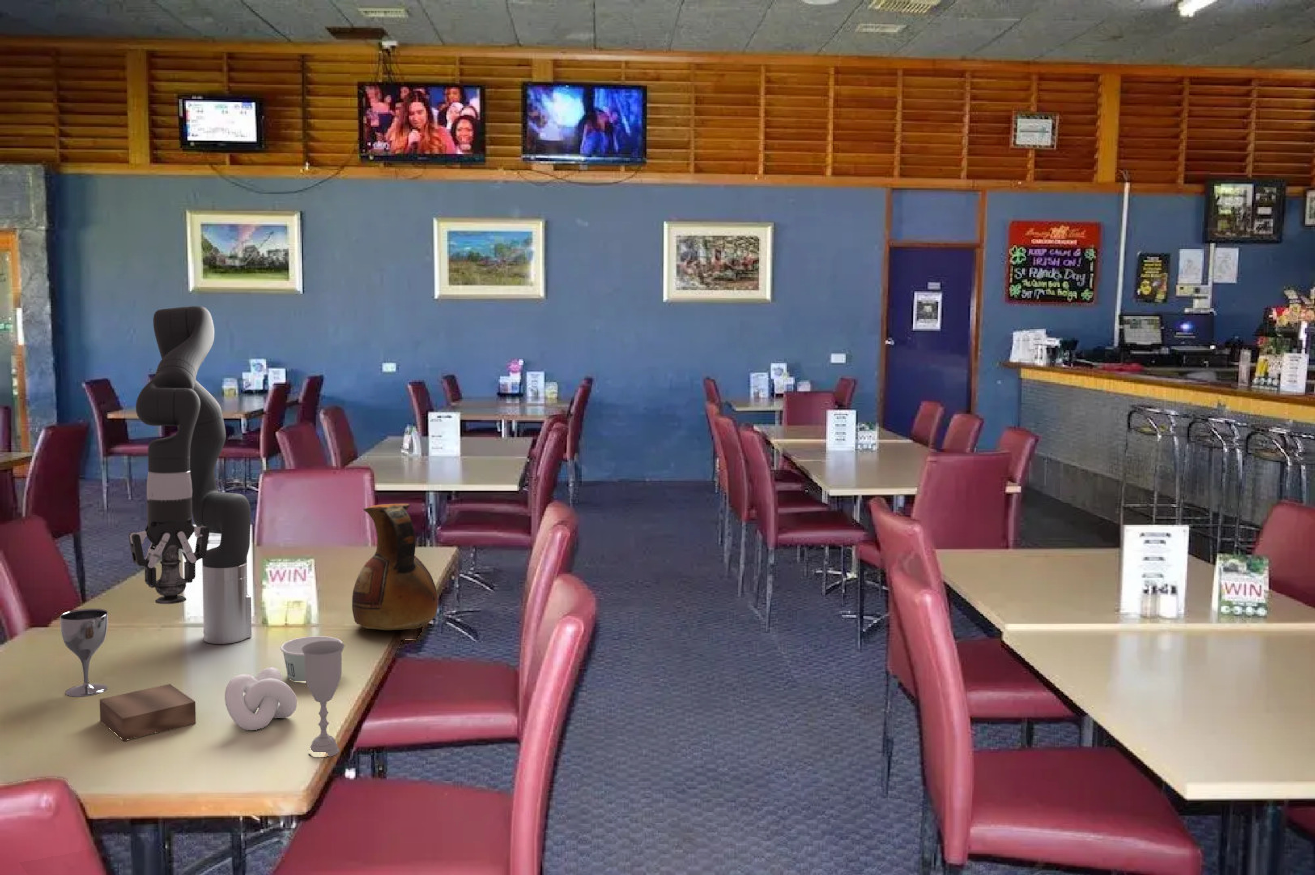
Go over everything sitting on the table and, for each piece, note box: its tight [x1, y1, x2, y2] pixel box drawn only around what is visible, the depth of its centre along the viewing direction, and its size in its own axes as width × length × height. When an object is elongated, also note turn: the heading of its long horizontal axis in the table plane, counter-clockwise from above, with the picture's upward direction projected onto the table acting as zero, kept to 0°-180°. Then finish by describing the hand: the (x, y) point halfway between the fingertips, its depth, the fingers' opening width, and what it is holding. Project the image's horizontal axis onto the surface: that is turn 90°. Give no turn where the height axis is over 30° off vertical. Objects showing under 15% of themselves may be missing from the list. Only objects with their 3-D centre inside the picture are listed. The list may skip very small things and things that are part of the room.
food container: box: [279, 635, 343, 681], centre depth 207 cm, size 12×12×6 cm
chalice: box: [301, 641, 345, 758], centre depth 170 cm, size 7×7×18 cm
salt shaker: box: [154, 545, 188, 605], centre depth 190 cm, size 6×6×12 cm
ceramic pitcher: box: [351, 503, 439, 631], centre depth 240 cm, size 20×20×30 cm
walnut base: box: [99, 683, 197, 741], centre depth 181 cm, size 12×12×4 cm
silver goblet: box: [59, 608, 109, 698], centre depth 195 cm, size 8×8×15 cm
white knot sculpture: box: [224, 666, 298, 731], centre depth 182 cm, size 11×12×9 cm
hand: (170, 584), depth 190 cm, fingers closed on salt shaker, 6 cm apart
